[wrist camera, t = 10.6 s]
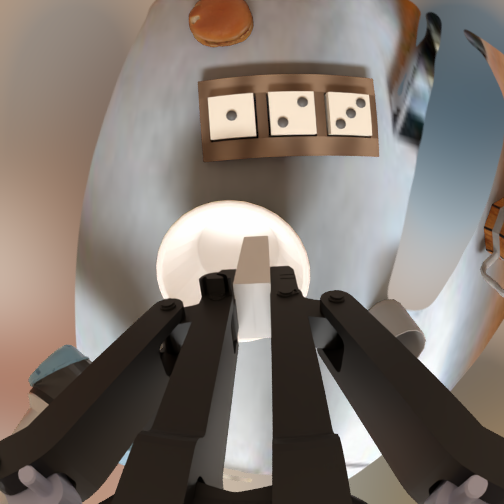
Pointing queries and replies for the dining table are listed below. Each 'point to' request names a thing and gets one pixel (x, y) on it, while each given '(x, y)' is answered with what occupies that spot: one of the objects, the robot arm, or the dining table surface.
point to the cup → (400, 325)
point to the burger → (220, 22)
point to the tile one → (232, 117)
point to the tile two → (292, 113)
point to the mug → (494, 241)
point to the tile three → (347, 114)
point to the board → (264, 144)
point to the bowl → (223, 247)
